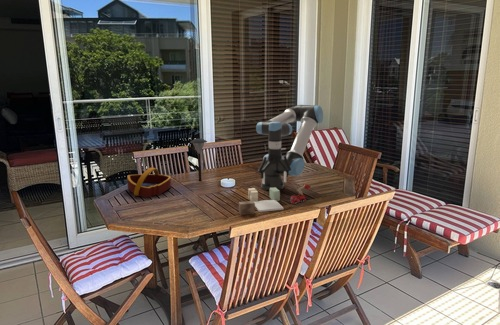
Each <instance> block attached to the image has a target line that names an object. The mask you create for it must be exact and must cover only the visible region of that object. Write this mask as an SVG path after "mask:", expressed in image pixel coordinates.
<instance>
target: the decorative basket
mask: <svg viewBox="0 0 500 325" xmlns="http://www.w3.org/2000/svg"><path fill="white" fill-rule="evenodd" d="M152 172H153V174H151V173H152ZM171 178H172V177H171V176H170V175H167V174H160V172H159V169H158V168H155V167H149V168H147V169H146V170H145V171H144V172H143V173H141V174H128V175H127V179H126V180H127V188H128V190H129V191H130V192H131V193H132V194H133V195H134V196H137V197H143V198H152V197H155V196H159V195H162V194H163V193H164V192H166V191H167V190H169V189H170V188H171V186H172V184H171V183H172V180H171Z"/></svg>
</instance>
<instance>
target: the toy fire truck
mask: <svg viewBox="0 0 500 325" xmlns="http://www.w3.org/2000/svg"><path fill="white" fill-rule="evenodd" d="M303 189H305V190H310V189H311V185H309V184H306V183H304V184H302V186H300V187H299V188H297V189H296V192H297V193H298V194H297V195H291V196H290V200H289V202H290V203H291V204H293V205H294V204H295V205H297V204H298V203H304V202H305V201H306V200H307V199H306V196H305V195H304V194H303V191H302V190H303Z"/></svg>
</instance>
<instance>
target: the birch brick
mask: <svg viewBox="0 0 500 325" xmlns="http://www.w3.org/2000/svg"><path fill="white" fill-rule="evenodd" d="M247 198H248V200H249V201H253V202H254V201H259V191H258V190H257V189H256V188H255V187H252V188H250V187H249V188H247Z"/></svg>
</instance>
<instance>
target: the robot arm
mask: <svg viewBox="0 0 500 325" xmlns="http://www.w3.org/2000/svg"><path fill="white" fill-rule="evenodd" d="M323 121H324V110H323V108H322V106H320V105H316V104H313V105H310V104H296V105H293V106H292V107H289V108H287V109H285V110H284V112H282V113H280V114H278V115H277V116H275V117H273V118H271V119H268V120H266V121H260V122H257V124H256V126H255V130H256V133H257V134H259V135H265V136H268V153H267V154H265V155H264V156H263V157H262V161H261V163H260V164H259V167H258V169H257V172H258V173H259V174H260V178H261V184H260V188H261V189H262V190H266V191H269V188H274V187H276V188H277V189H278V190H279V191H281V190H283V189H284V187H285V186H284V185H285V184H284V183H287V178H288V177H289V176H292V177H299V176H300V175H301V174H302V173H303V172H304V170H305V164H306V162H305V160H304V159H305V158H304V156H303V155H304V152H305V150H306V148H307V145H308V143H309V140H310V138H311V135H312V133H313V130H314V128H315V129H316V127H317V125H318V124H320V123H322V122H323ZM294 122H300V126H299V128H298V131H297V133H296V135H295V138H294V140H293V143H292V146H291V148H290V150H289V151H287V152H286V154H285V155H284V154H283V155H282V137H288V136H289V135H291V134H292V133H293V126H292V125H291V124H290V123H294ZM282 175H283V178H282Z"/></svg>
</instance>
